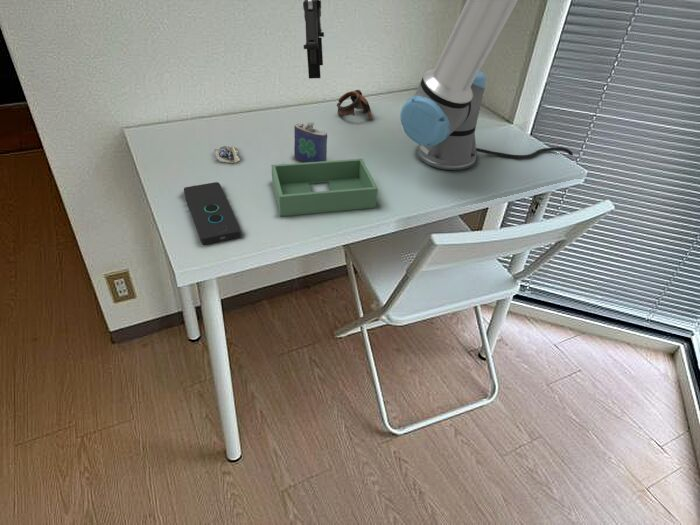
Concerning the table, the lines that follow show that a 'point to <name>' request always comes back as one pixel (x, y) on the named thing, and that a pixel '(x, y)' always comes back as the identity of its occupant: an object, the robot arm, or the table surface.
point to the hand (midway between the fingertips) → (316, 71)
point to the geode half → (227, 154)
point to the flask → (310, 143)
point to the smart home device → (211, 213)
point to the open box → (346, 191)
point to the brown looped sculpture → (354, 104)
